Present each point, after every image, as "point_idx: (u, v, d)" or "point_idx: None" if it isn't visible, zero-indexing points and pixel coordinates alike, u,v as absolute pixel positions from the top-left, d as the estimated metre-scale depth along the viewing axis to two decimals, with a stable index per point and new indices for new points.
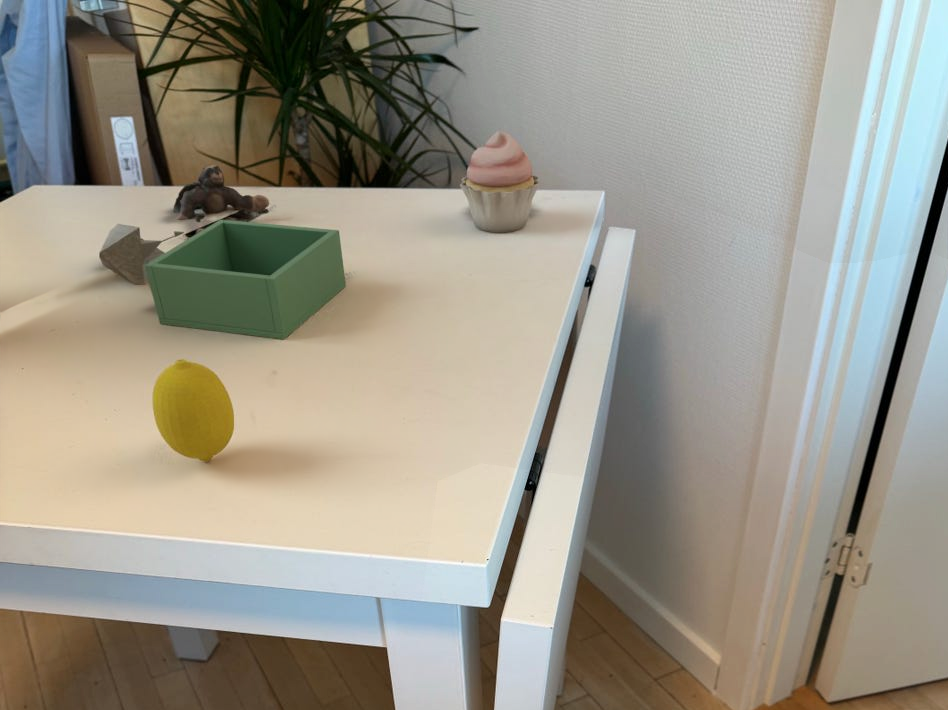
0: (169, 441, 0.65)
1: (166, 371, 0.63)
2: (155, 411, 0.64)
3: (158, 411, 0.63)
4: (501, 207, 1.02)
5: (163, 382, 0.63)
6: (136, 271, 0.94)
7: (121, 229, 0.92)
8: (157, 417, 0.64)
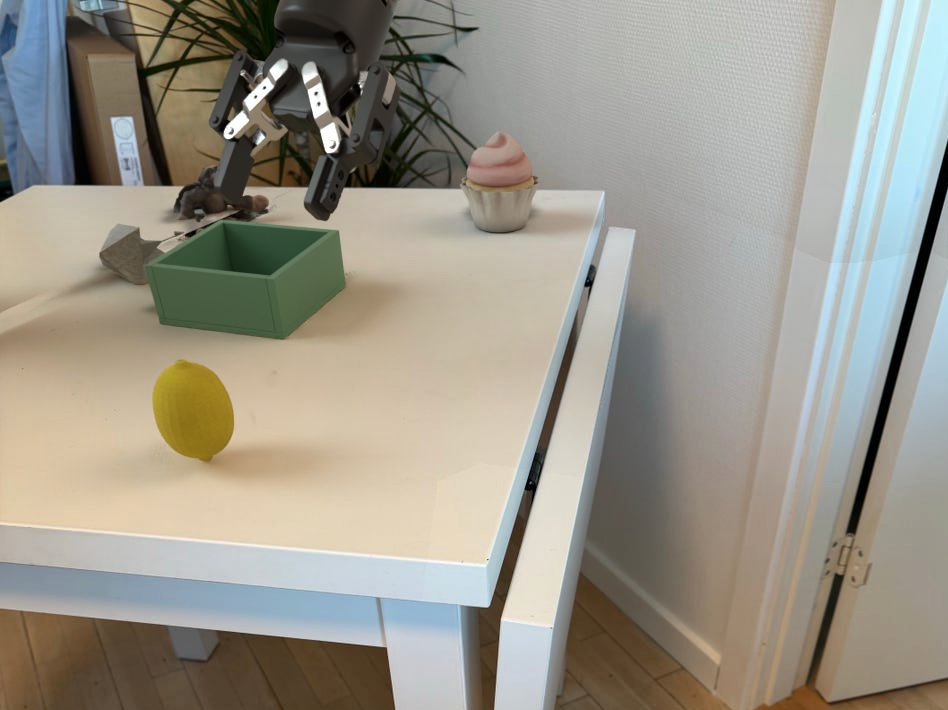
0: (169, 441, 0.65)
1: (166, 371, 0.63)
2: (155, 411, 0.64)
3: (158, 411, 0.63)
4: (501, 207, 1.02)
5: (163, 382, 0.63)
6: (136, 271, 0.94)
7: (121, 229, 0.92)
8: (157, 417, 0.64)
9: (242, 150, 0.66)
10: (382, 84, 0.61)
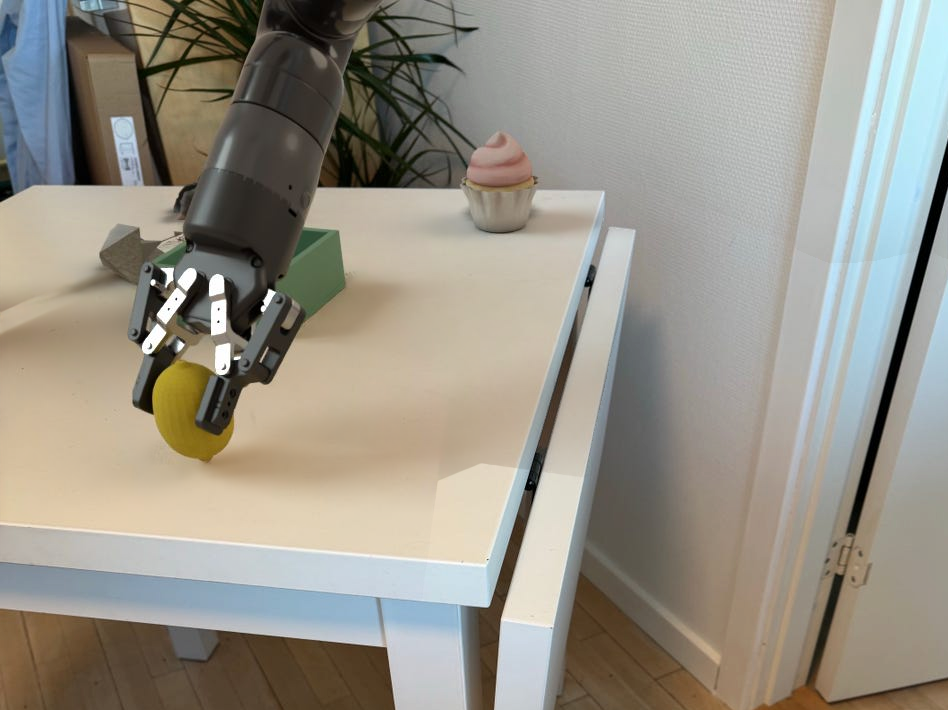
0: (169, 441, 0.65)
1: (166, 371, 0.63)
2: (155, 411, 0.64)
3: (158, 411, 0.63)
4: (501, 207, 1.02)
5: (163, 382, 0.63)
6: (136, 271, 0.94)
7: (121, 229, 0.92)
8: (157, 417, 0.64)
9: (161, 364, 0.65)
10: (282, 315, 0.61)
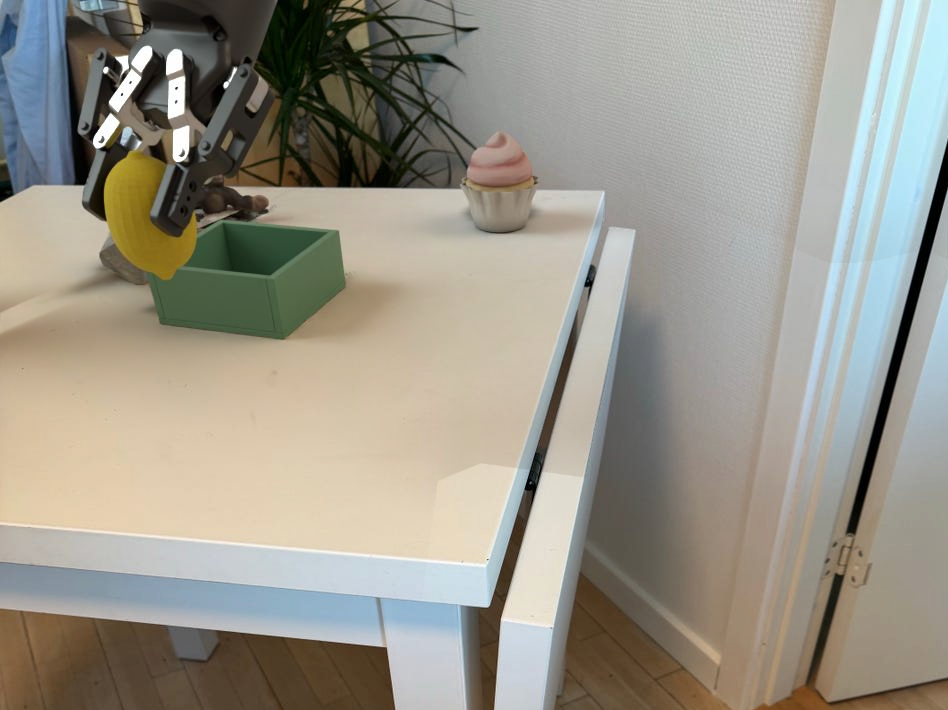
0: (123, 247, 0.58)
1: (118, 163, 0.56)
2: (107, 210, 0.57)
3: (109, 208, 0.57)
4: (501, 207, 1.02)
5: (114, 174, 0.56)
6: (136, 271, 0.94)
7: None
8: (109, 217, 0.57)
9: (115, 161, 0.58)
10: (247, 90, 0.54)
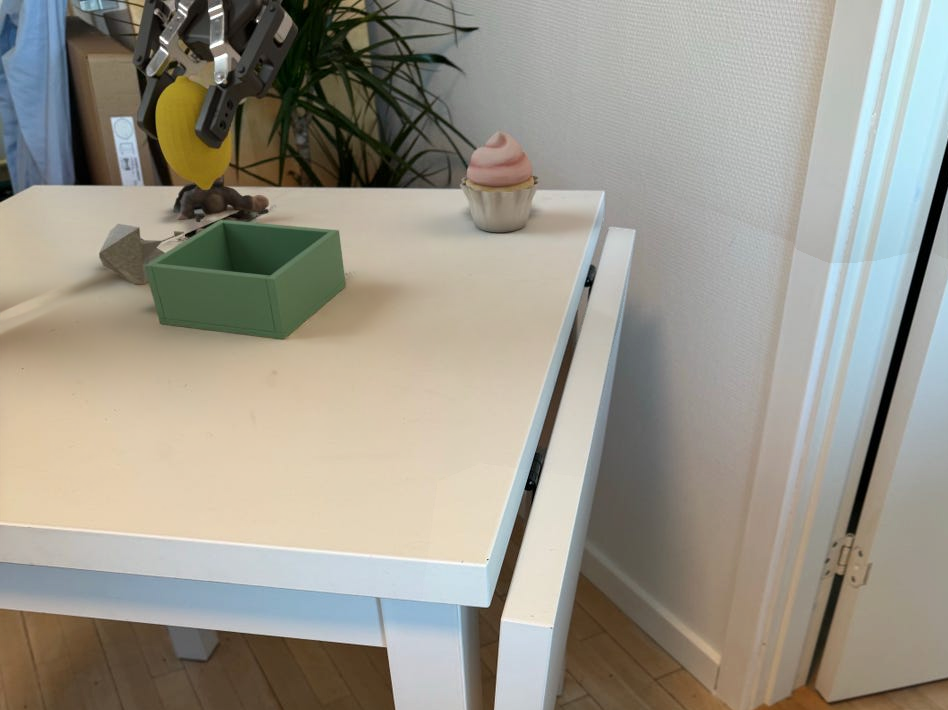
0: (171, 158, 0.70)
1: (168, 86, 0.68)
2: (158, 126, 0.69)
3: (161, 124, 0.68)
4: (501, 207, 1.02)
5: (165, 95, 0.68)
6: (136, 271, 0.94)
7: (121, 229, 0.92)
8: (160, 132, 0.69)
9: (164, 87, 0.70)
10: (275, 23, 0.65)
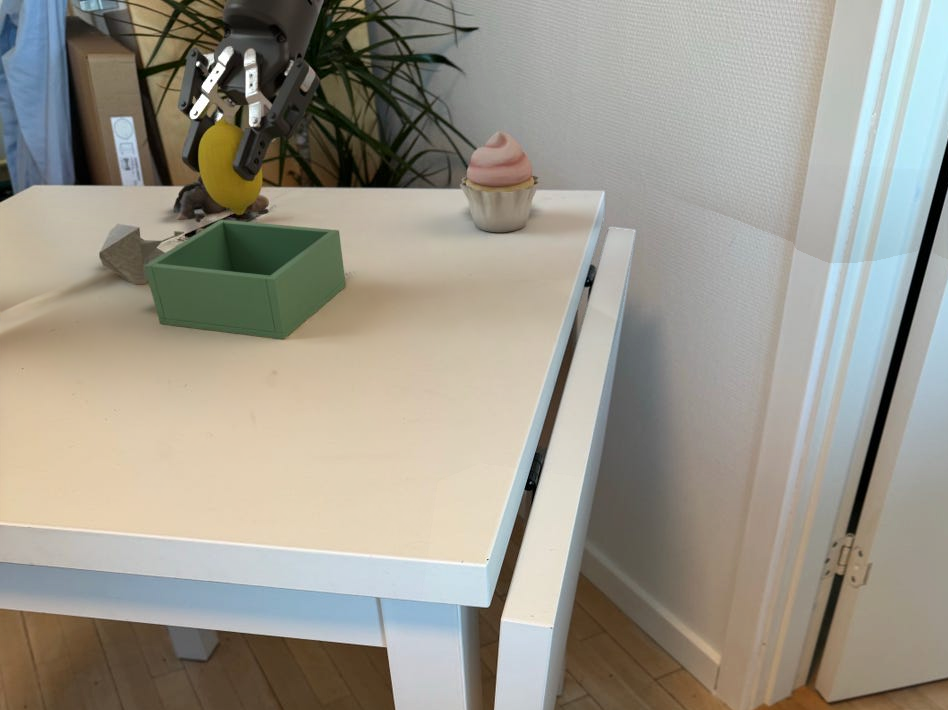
0: (211, 189, 0.82)
1: (209, 128, 0.80)
2: (201, 162, 0.81)
3: (203, 161, 0.80)
4: (501, 207, 1.02)
5: (207, 136, 0.80)
6: (136, 271, 0.94)
7: (121, 229, 0.92)
8: (202, 167, 0.81)
9: (205, 128, 0.82)
10: (301, 76, 0.78)
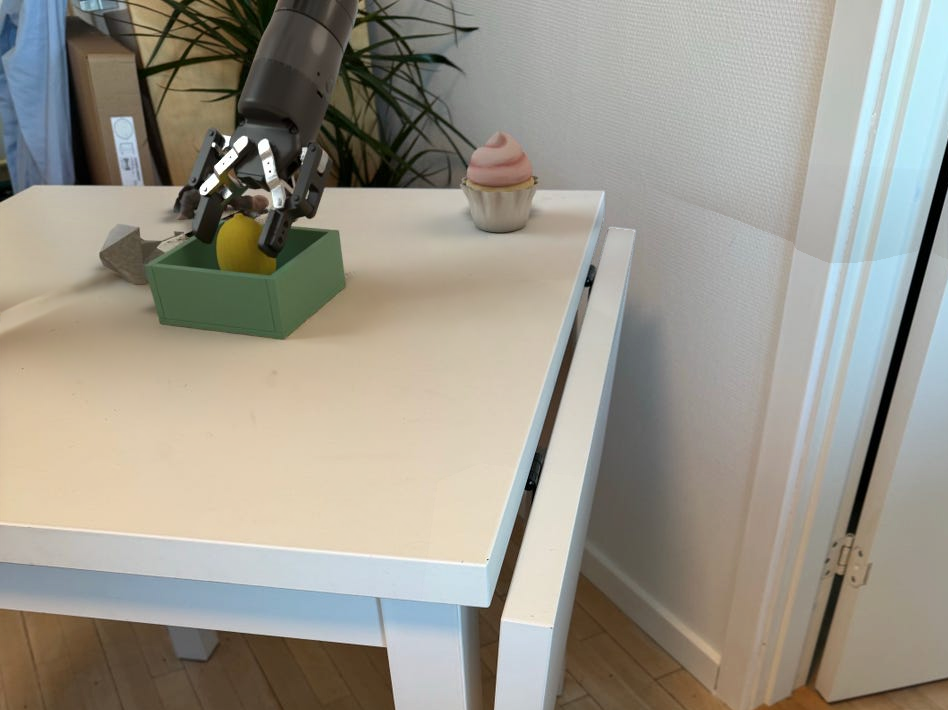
0: None
1: (227, 221, 0.85)
2: (219, 252, 0.86)
3: (221, 251, 0.86)
4: (501, 207, 1.02)
5: (225, 229, 0.85)
6: (136, 271, 0.94)
7: (121, 229, 0.92)
8: (220, 257, 0.86)
9: (214, 203, 0.87)
10: (317, 159, 0.82)
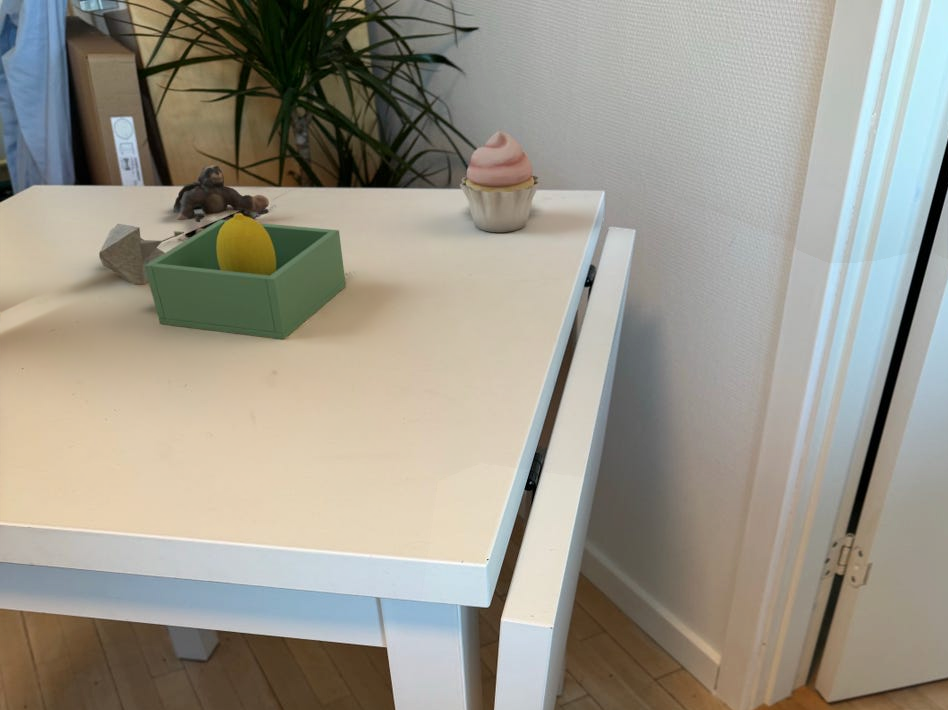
0: None
1: (227, 221, 0.85)
2: (219, 252, 0.86)
3: (221, 251, 0.86)
4: (501, 207, 1.02)
5: (225, 229, 0.85)
6: (136, 271, 0.94)
7: (121, 229, 0.92)
8: (220, 257, 0.86)
9: None
10: None
